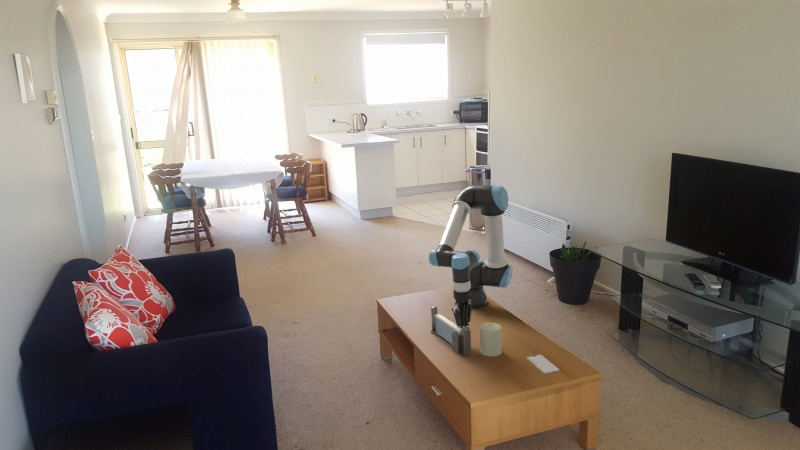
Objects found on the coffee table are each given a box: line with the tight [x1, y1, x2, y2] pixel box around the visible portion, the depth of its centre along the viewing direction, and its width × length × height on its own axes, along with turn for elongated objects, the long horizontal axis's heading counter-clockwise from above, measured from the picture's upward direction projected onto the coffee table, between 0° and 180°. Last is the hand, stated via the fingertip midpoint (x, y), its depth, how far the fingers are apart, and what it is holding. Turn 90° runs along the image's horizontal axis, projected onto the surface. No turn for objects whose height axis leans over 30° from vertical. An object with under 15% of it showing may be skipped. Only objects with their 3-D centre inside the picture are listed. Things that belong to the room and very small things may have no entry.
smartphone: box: [526, 353, 560, 375], centre depth 236 cm, size 7×1×15 cm
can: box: [479, 322, 503, 358], centre depth 248 cm, size 9×9×12 cm
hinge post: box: [429, 306, 439, 335], centre depth 270 cm, size 4×4×13 cm
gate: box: [435, 313, 462, 345], centre depth 259 cm, size 22×2×9 cm, turn 26°
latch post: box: [451, 325, 472, 357], centre depth 249 cm, size 5×8×13 cm, turn 27°
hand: (464, 338), depth 256 cm, fingers closed
